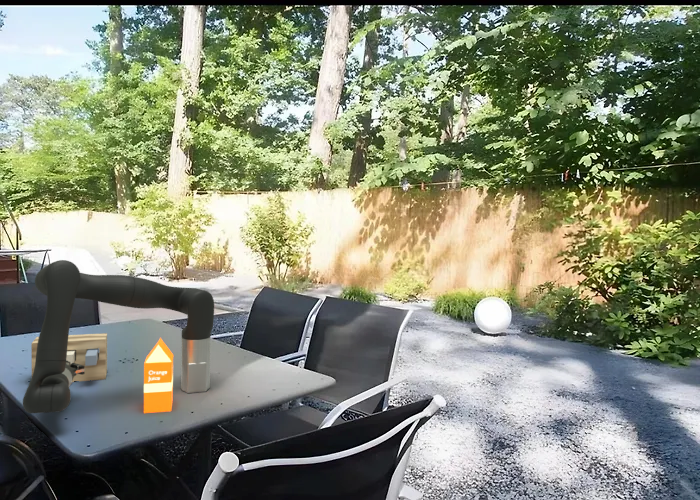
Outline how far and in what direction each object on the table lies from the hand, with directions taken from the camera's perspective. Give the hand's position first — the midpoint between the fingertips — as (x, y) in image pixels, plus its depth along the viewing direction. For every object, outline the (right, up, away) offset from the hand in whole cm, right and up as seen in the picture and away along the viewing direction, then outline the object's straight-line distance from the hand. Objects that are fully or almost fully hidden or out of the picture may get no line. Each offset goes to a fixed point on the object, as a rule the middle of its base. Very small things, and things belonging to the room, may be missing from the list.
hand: (65, 363), depth 163 cm
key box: (-6, -8, +14) cm, 18 cm away
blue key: (+3, -1, +10) cm, 10 cm away
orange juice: (+33, -11, -10) cm, 37 cm away
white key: (-4, -1, +10) cm, 11 cm away
